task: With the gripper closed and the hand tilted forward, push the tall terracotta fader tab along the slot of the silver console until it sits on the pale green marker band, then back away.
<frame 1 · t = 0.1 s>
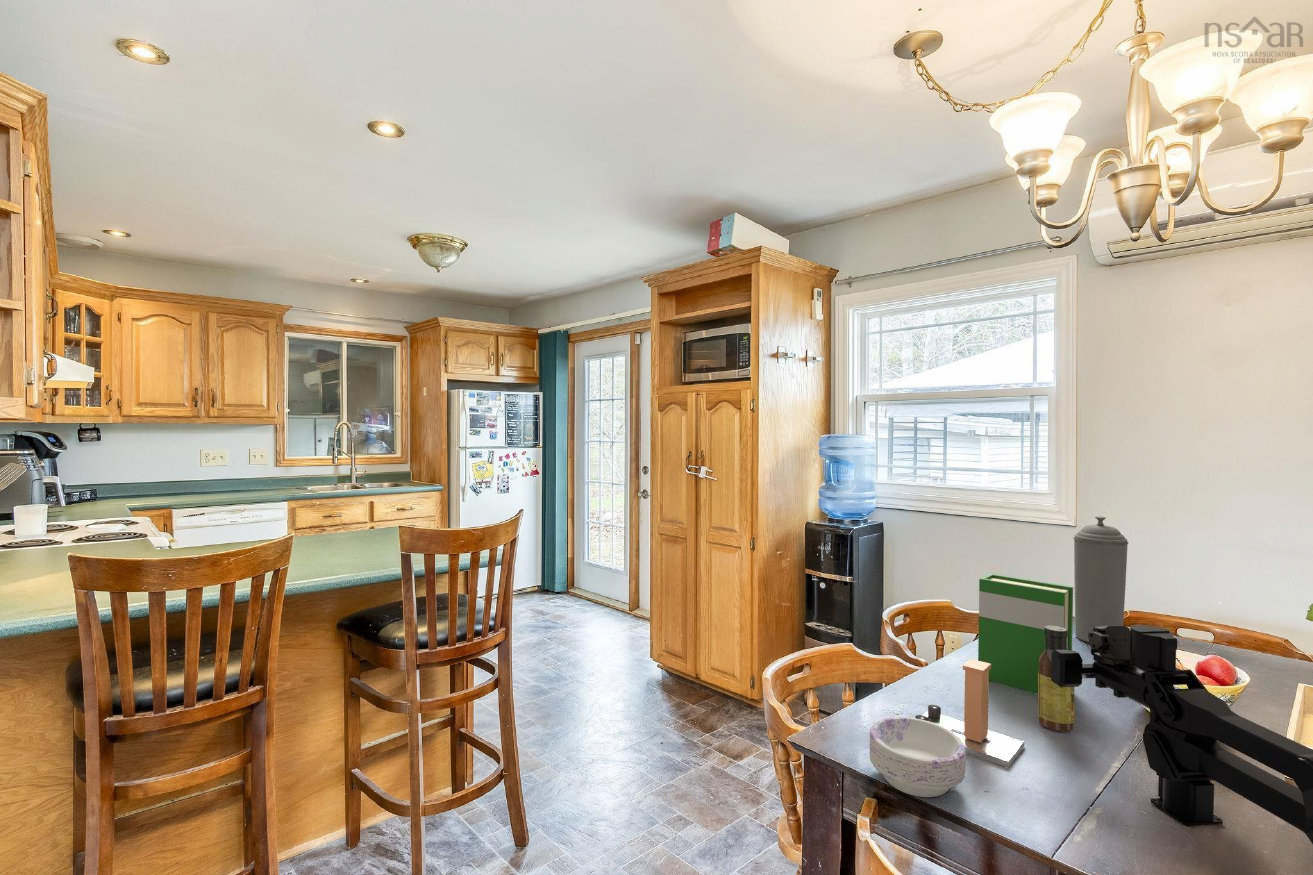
hand: (1069, 651, 126), 17 cm above the table, tool horizontal, fingers open, 9 cm apart
sauce bottle: (1055, 726, 130), on the table
paper bowls: (916, 783, 109), on the table
canister: (1098, 640, 181), on the table
fader tab: (976, 700, 122), point 8 cm above the table, slide at 0.0 cm
hardback book: (1023, 685, 150), on the table
fader console: (964, 740, 124), on the table
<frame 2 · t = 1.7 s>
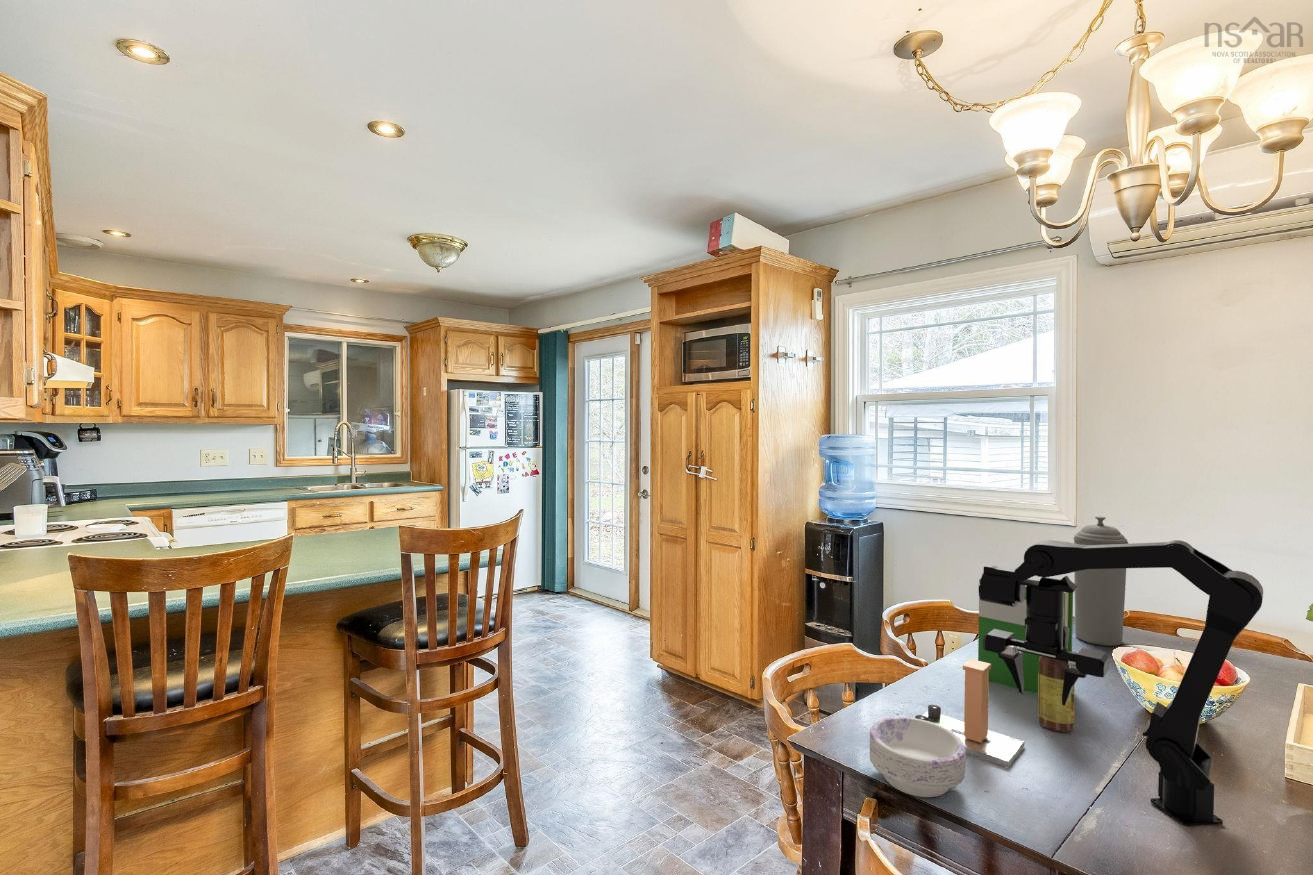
hand: (1042, 698, 114), 12 cm above the table, tool pointing down, fingers open, 6 cm apart
nothing on the table moved.
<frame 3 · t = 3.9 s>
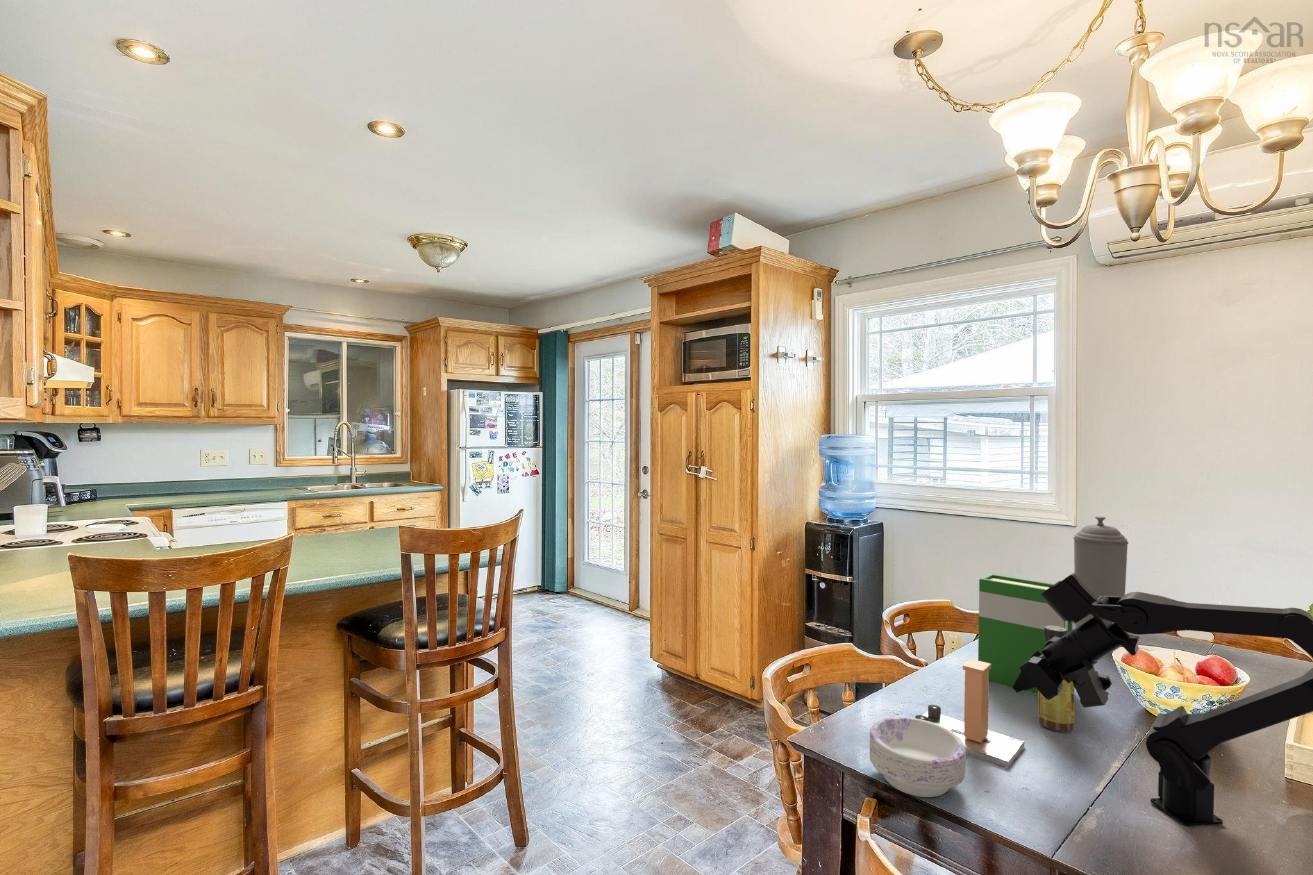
hand: (1014, 689, 118), 12 cm above the table, tool tilted 45°, fingers closed
nothing on the table moved.
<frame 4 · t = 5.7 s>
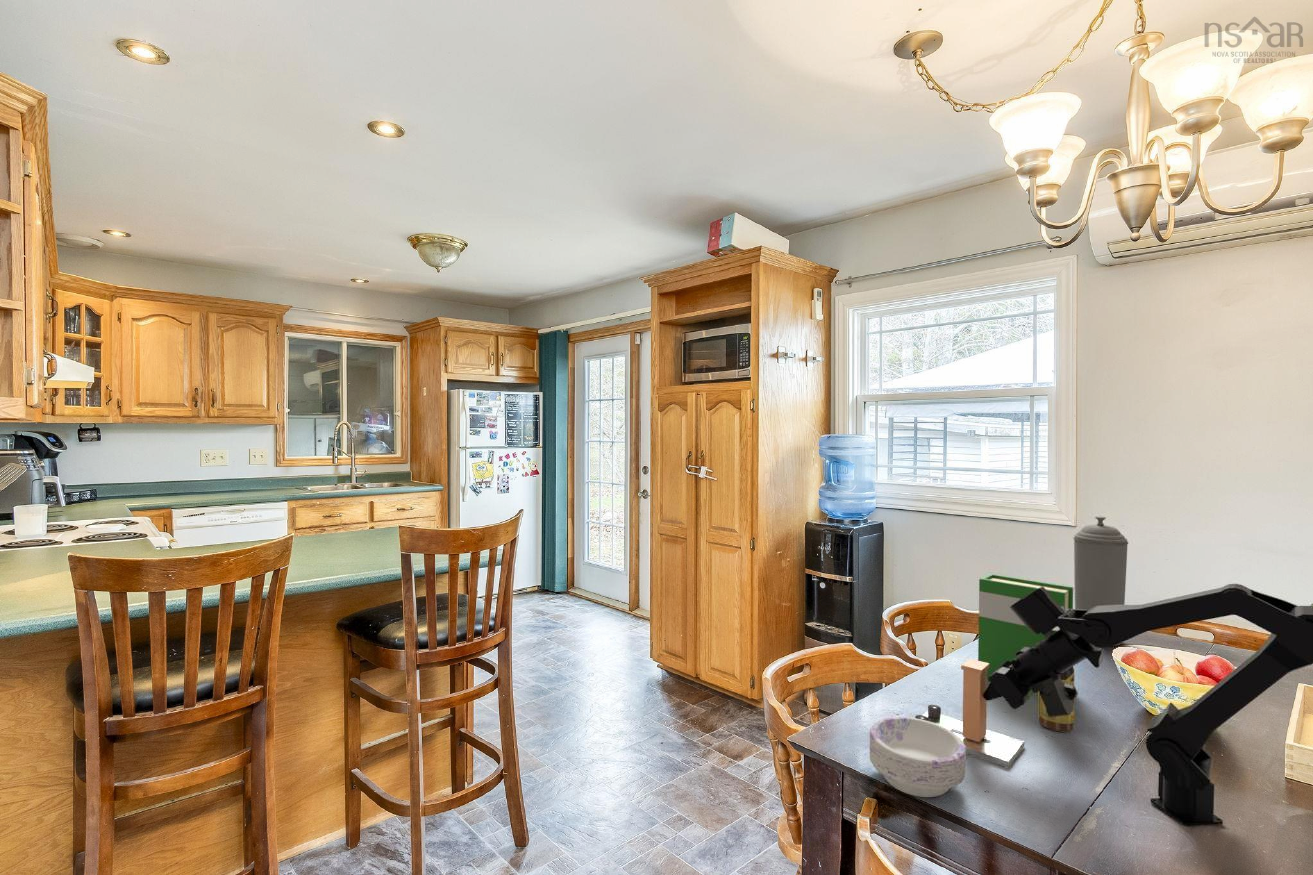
hand: (985, 697, 121), 9 cm above the table, tool tilted 45°, fingers closed, pressing on fader tab
fader tab: (974, 699, 122), point 8 cm above the table, slide at 0.3 cm, touching gripper
everything else where it was.
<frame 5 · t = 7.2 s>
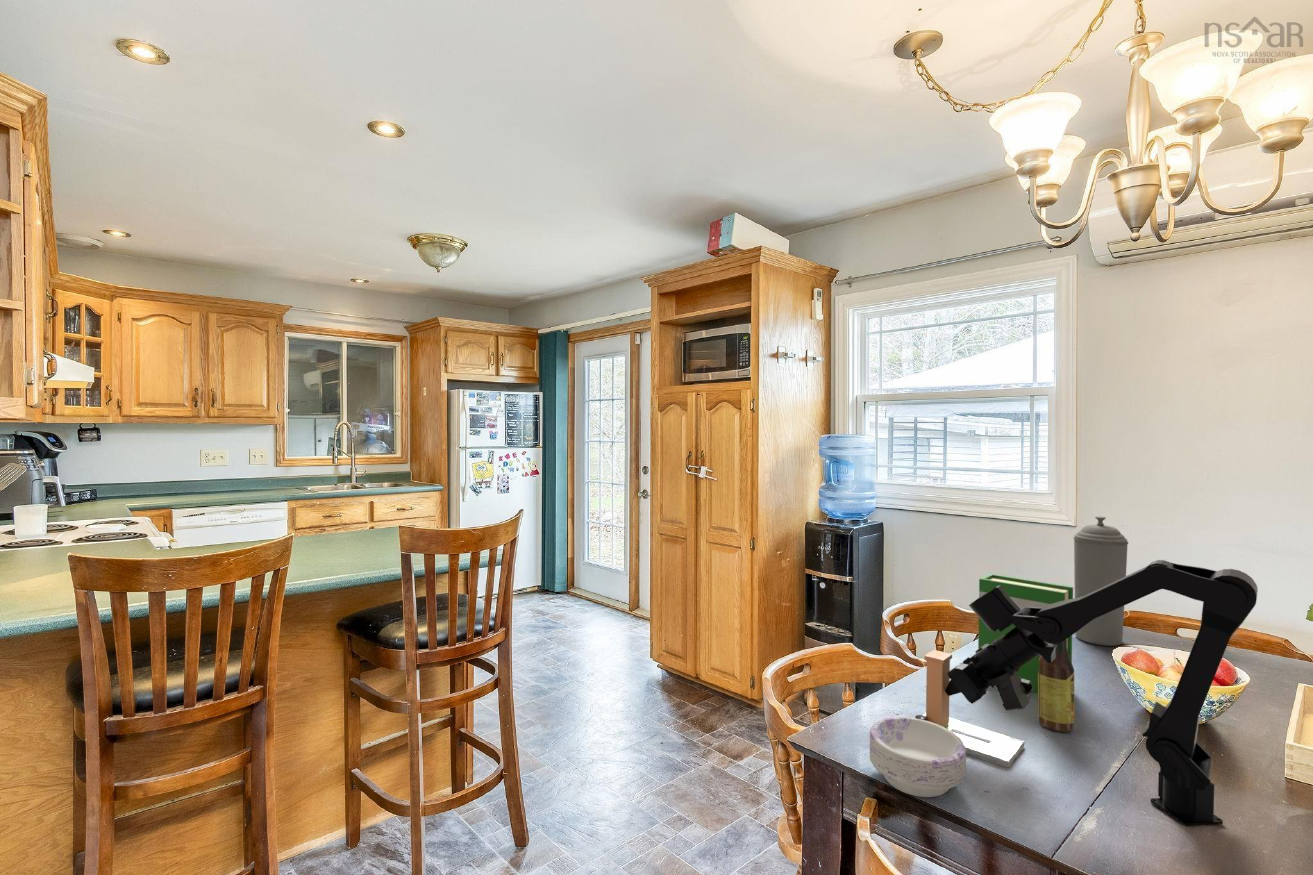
hand: (947, 693, 126), 8 cm above the table, tool tilted 45°, fingers closed, pressing on fader tab
fader tab: (937, 689, 127), point 8 cm above the table, slide at 7.2 cm, touching gripper
everything else where it was.
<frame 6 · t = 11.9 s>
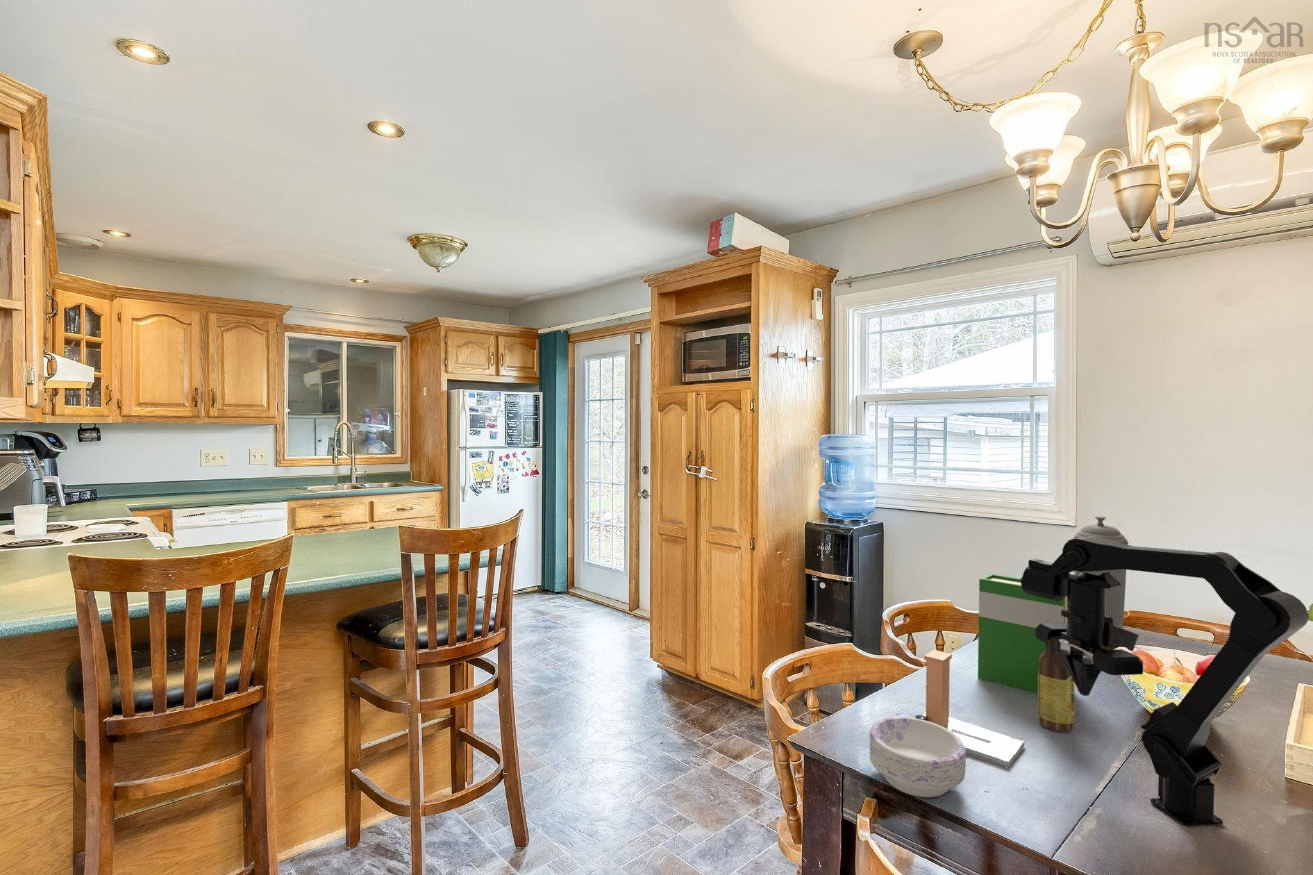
hand: (1084, 694, 114), 13 cm above the table, tool pointing down, fingers closed
fader tab: (937, 689, 127), point 8 cm above the table, slide at 7.2 cm
everything else where it was.
at the end: fader tab slide at 7.2 cm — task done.
